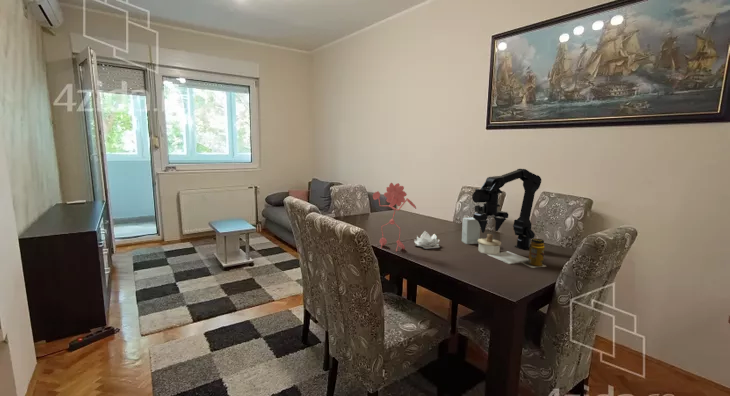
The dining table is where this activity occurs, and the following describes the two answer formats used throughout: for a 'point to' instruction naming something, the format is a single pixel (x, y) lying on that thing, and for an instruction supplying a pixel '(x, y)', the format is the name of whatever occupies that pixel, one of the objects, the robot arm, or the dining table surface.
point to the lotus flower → (427, 240)
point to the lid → (489, 241)
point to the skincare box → (470, 231)
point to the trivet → (509, 257)
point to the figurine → (393, 197)
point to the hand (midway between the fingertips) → (489, 231)
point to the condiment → (536, 254)
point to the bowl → (488, 249)
